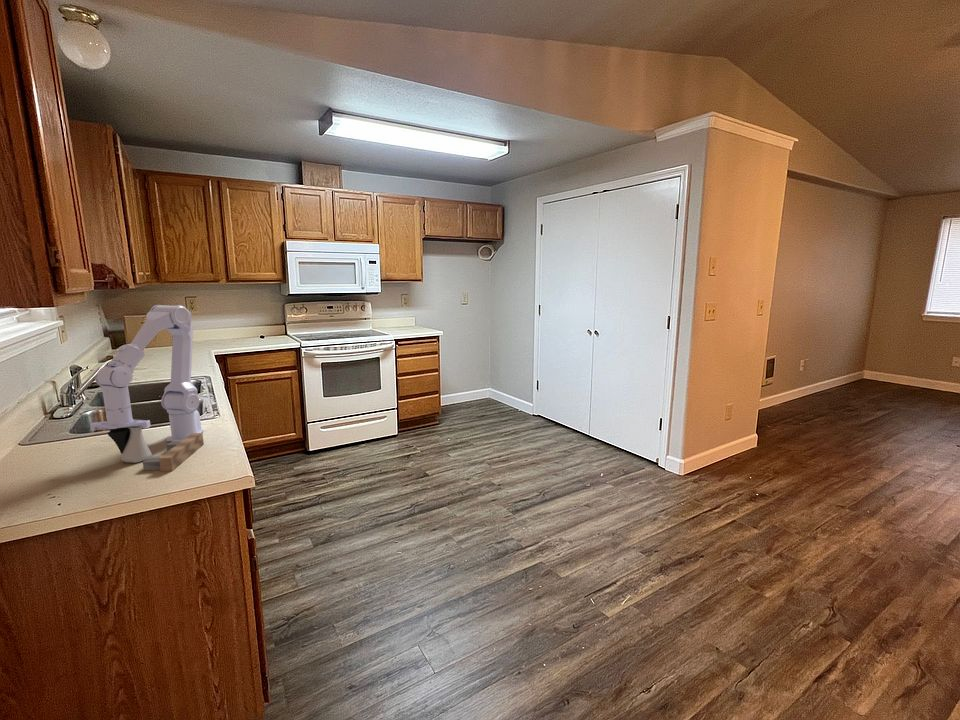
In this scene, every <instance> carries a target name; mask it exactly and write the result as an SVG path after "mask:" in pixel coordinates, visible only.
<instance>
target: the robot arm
mask: <svg viewBox="0 0 960 720" xmlns="http://www.w3.org/2000/svg"><path fill="white" fill-rule="evenodd" d="M162 330H166V331H167V332H169V333H170V334H171V335H172V344H171V345H172V350H171V370H170V383H169V384H167V386H165V387H164V389H163V391H164V392H163V395H162V397H161V400H160V404H161V407H162V408H163V409H164V410H166V413H168V418H169V427H170V434H171V436H170V437H168V438H167V439H166V440H165V441H166V442H171V441H173V440H184V439H185V438H186V437H188V436H189V435H190V434H192V433H204V432H205V429H202V426H201V415H200V412H199V411H198V407H199V405H200V398H199V396H198V395H199V394H198V389H197V387H196V386H195V385H194V384H193V383H191V381H192V379H191V378H192V362H193V361H192V359H193V342H194V341H193V338H194V329H193V326H192V312H191V311H190V310H188V309H187V308H186V307H185V306H183V305H165V304H163V305H162V304H155V305H153V306H152V307H151V308H150V310H149V311H148V312H147V313H146V319H145V321H144V322H143V324H142V325H141V327H140V328H139V330H138V331H137V333H136V334H135V336H134V338H133V339H132V341H131V342H130V343H129V344H128V343H126V344H123V345H122V346H119V348H118V349H117V351H118V352H116V354H115V355H114V356H113V358H112V359H111V360H110V361H108V363H107V365H106V366H103V367H102V368H100V369H99V370H98V371H97V373H96V376H95V377H94V380H95V383H96V384H97V385H98V386H99V387H100V391H101V392H102V395H103V397H102V398H103V403H104V410H105V418H106V420H105V421H94V422H92V423H90V424H89V427H90V428H89V429H90V431H91V432H93V431H99V430H101V431H102V430H105V431H106V430H109V431H108V432H107V436H108V437H110V438H111V440H112V441H113V442H114V443H115V444H116V446H117V448H118V450H119V452H120V454H121V455H122V453H123V451H124V449H125V447H126V444H127V442H128V439H129V435H130V429H129V428H128V427H131V428H138V427H141V428H142V430H143V429H144V430H145V429H148V428H151V426H152V425H151V421H150V419H147V420H145V419H135V418H133V414H132V405H131V398H130V397H131V396H130V392H129V391H130V390H129V384H130V383H132V381H133V378H134V377H133V373H134V370H135V369H136V367H137V366H138V365H139V363H140V362H141V360H142V359H143V358H144V357H145V351H144V349H145V348H146V347H147V346H148V345H149V344H150V343H151V341H152V340H153V339H154V338H155V337H156V336H157V335H158V333H159V332H161V331H162Z"/></svg>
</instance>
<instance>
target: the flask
mask: <svg viewBox="0 0 960 720" xmlns="http://www.w3.org/2000/svg"><path fill="white" fill-rule="evenodd" d="M128 428H129V429H130V435H129V439H128V442H127V444H126V447H125V449H124V451H123V453H122V454H121V455H120V458H119V460H121V461H123V462H124V463H134V464H135V463H141V462H144V461H145V460H146V459H148V458H149V457H150V456H154V455H153V453H152V452H151V450H150V448H149V446H148V444H147V442H146V440H145V438H144V435H143V428H141V427H138V428H131V427H128Z"/></svg>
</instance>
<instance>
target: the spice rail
mask: <svg viewBox="0 0 960 720" xmlns="http://www.w3.org/2000/svg"><path fill="white" fill-rule="evenodd" d="M203 433H204V432H202V433H192V434H190V435H189V436H188V437H186V438H185V439H184V440H173V441H169V443H167V444H166V450H167V452H165V453H164V454H163V455H153V456H150V457H149V458H148V459H146V460H144V461H142V466H143V467H142V468H143V471H144V472H145V471H160V472H163V473H164V472H173V471H175V470H176V469H177V468H178V467H179V466H180V465H182V464H183V463H184V462H185V461H186V460H188V459H189V458H190V457H191V456H192V455H193V454H195V453H196V452H197V451H198V450H199V449H200V448H202V447H203V445H204V444H205V443H204V435H203Z"/></svg>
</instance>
